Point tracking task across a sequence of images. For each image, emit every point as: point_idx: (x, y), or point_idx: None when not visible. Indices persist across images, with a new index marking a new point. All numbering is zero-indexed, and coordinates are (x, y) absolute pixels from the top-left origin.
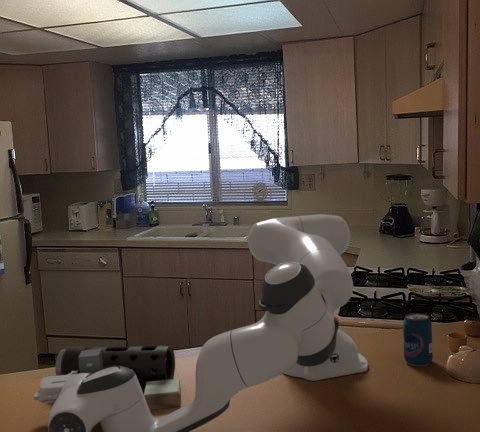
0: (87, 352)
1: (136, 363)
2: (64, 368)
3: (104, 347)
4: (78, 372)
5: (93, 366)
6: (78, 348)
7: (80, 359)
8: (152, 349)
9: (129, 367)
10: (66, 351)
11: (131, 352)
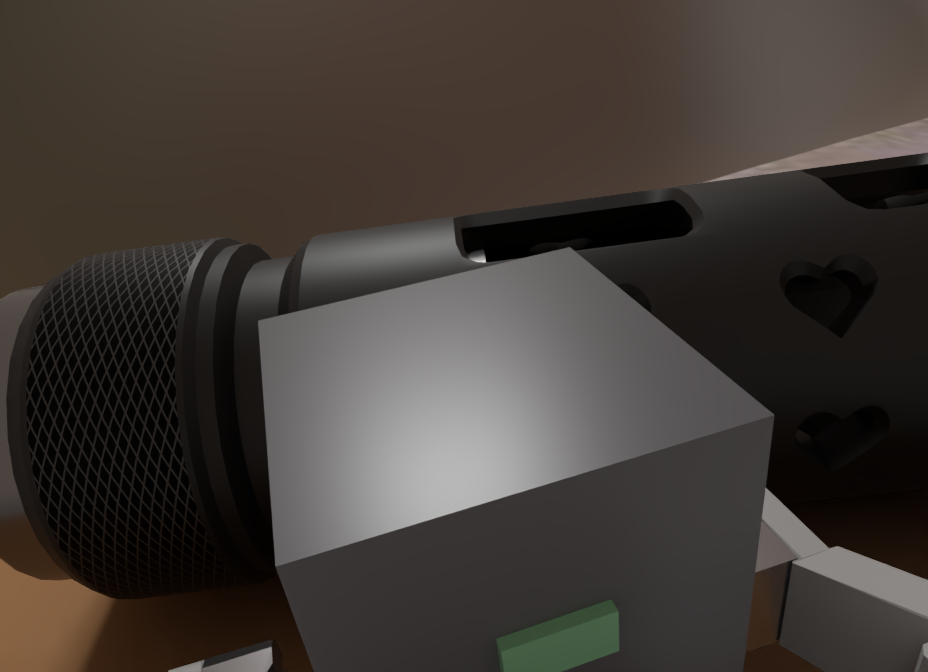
0: (399, 350)
1: (887, 353)
2: (64, 506)
3: (428, 226)
4: (281, 655)
5: (641, 642)
6: (167, 268)
7: (344, 599)
8: (869, 191)
9: (810, 404)
10: (41, 317)
11: (778, 241)
